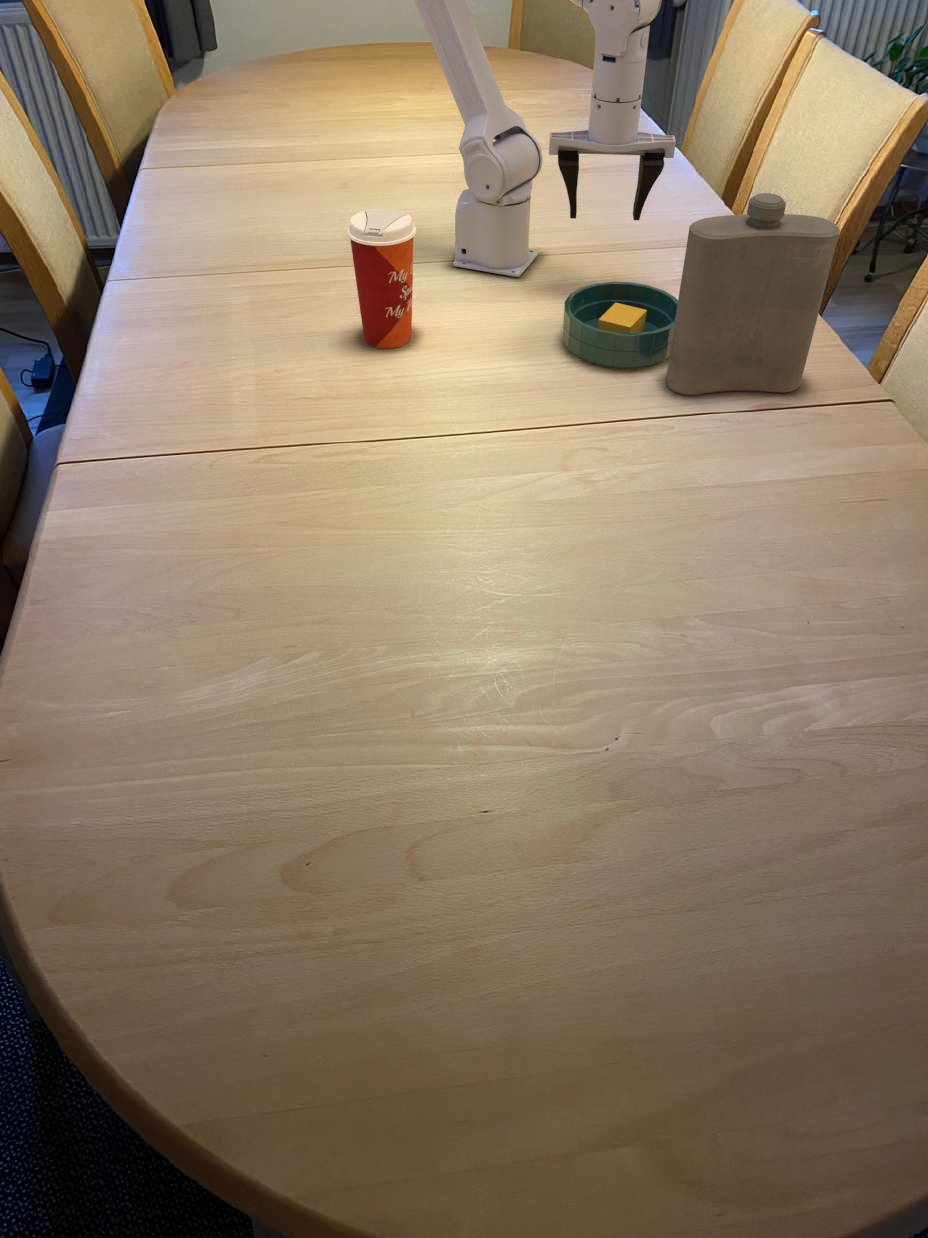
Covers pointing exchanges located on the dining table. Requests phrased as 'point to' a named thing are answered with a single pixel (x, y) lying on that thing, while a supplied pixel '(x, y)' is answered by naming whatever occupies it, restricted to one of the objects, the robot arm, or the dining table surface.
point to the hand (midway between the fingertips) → (604, 216)
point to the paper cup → (384, 274)
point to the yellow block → (623, 319)
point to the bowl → (614, 346)
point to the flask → (749, 299)
